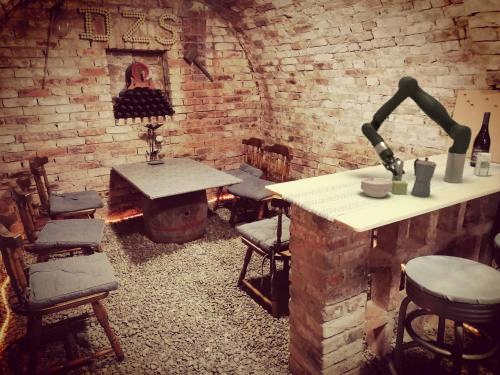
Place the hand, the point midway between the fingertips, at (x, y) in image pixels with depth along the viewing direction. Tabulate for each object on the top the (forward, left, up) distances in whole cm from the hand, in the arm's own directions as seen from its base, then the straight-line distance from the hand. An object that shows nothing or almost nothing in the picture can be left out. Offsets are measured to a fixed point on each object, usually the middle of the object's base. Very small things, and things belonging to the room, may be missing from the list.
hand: (400, 174), depth 199 cm
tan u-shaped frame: (+11, -4, -6) cm, 13 cm away
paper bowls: (+22, -17, -7) cm, 28 cm away
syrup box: (-36, +58, -7) cm, 69 cm away
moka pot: (+17, +6, -7) cm, 20 cm away
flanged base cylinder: (-1, -1, -6) cm, 7 cm away
